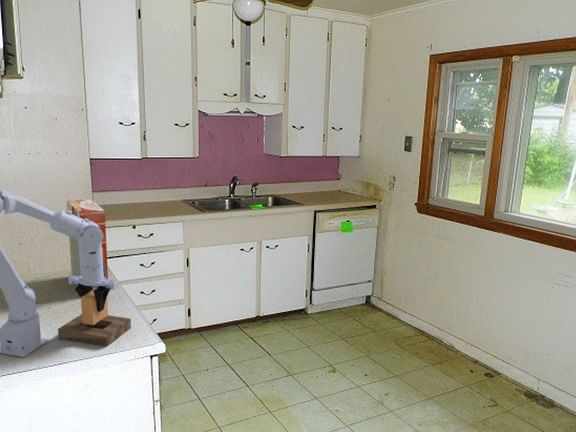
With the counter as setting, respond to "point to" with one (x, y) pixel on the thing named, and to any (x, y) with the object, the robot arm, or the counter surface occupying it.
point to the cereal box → (82, 211)
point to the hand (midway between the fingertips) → (94, 309)
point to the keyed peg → (92, 309)
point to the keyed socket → (95, 330)
